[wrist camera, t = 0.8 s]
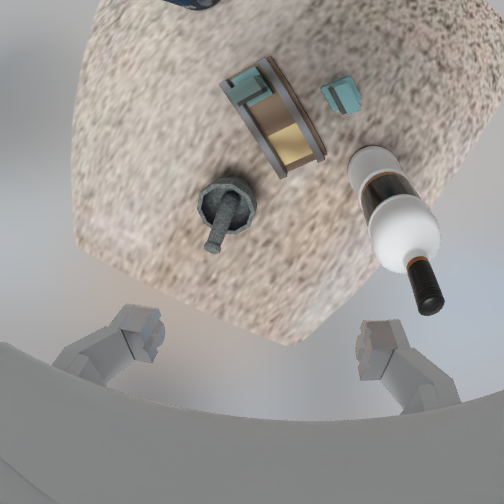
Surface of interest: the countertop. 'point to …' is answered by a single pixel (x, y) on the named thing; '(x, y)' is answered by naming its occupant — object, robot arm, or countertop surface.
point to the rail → (274, 116)
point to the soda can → (193, 3)
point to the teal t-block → (342, 96)
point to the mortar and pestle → (226, 209)
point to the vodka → (398, 223)
